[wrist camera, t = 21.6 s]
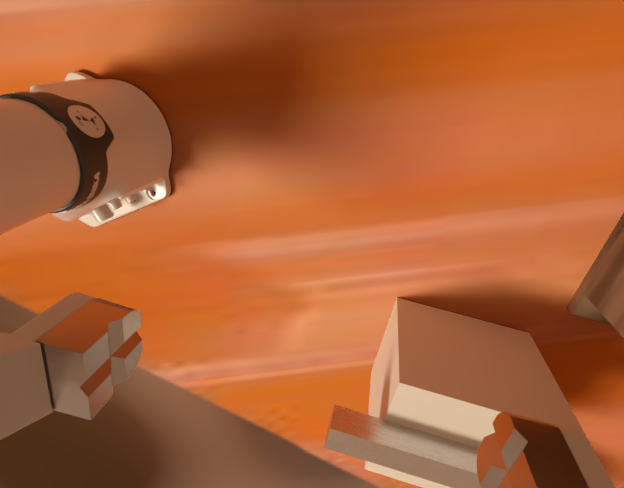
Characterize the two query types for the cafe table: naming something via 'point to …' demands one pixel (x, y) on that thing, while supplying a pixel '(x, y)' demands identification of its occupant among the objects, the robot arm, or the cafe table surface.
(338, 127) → the cafe table surface
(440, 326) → the cream tilted cube
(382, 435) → the brushed metal block
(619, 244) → the walnut stand
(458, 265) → the cafe table surface
